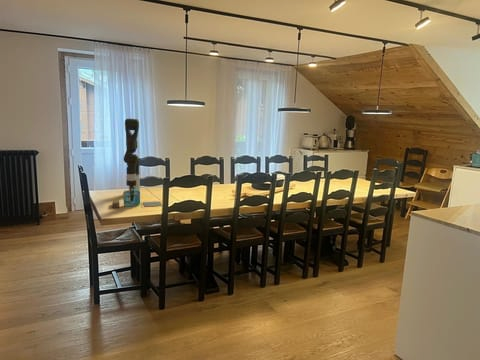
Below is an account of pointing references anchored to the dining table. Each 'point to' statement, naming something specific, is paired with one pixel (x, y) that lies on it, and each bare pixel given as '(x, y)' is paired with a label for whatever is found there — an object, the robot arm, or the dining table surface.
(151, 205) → the plate
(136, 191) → the data package
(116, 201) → the ticket block
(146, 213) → the dining table surface
